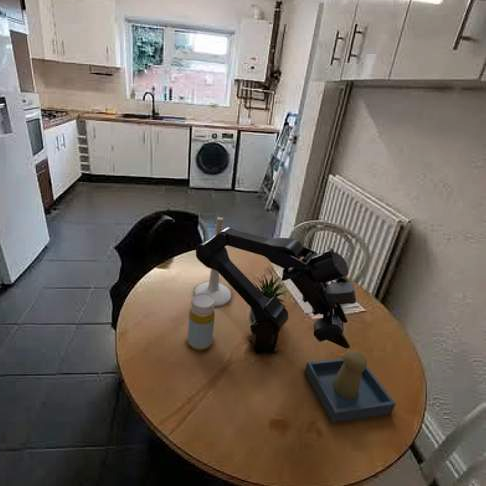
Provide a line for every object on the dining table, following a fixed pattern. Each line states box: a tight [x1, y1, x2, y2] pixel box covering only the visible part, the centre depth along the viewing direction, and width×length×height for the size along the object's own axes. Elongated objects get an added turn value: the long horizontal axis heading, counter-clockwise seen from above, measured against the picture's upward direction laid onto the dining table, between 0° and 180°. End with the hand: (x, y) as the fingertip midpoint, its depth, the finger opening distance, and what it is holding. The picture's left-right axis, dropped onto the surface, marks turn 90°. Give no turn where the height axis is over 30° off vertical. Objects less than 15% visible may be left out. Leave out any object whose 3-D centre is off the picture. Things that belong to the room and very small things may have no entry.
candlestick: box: [194, 216, 232, 307], centre depth 104 cm, size 13×13×30 cm
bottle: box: [187, 293, 216, 351], centre depth 86 cm, size 7×7×15 cm
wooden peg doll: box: [333, 349, 368, 400], centre depth 75 cm, size 6×6×11 cm
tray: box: [304, 357, 396, 424], centre depth 77 cm, size 16×14×4 cm
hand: (347, 334), depth 77 cm, fingers open, 9 cm apart
